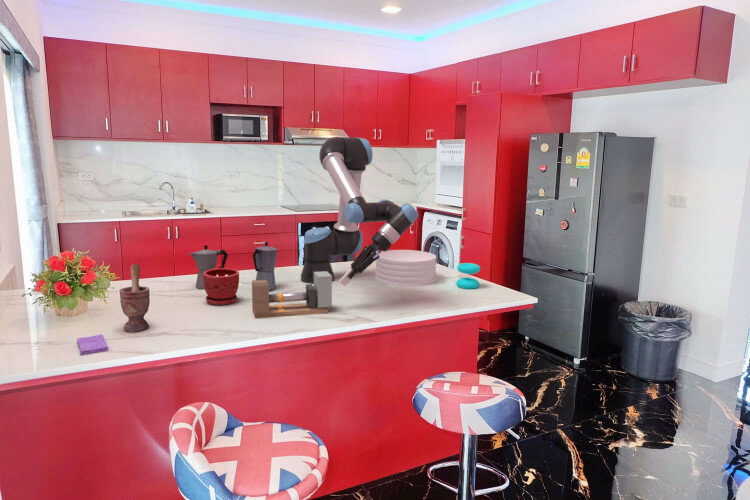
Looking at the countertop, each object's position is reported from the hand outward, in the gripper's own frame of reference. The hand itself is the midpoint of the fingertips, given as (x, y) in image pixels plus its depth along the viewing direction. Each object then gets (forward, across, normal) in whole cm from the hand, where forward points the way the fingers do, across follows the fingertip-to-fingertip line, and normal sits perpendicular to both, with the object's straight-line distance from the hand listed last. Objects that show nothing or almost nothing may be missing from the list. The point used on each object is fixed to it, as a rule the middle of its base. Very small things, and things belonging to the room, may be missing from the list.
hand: (341, 283), depth 193 cm
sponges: (+64, -19, +50) cm, 83 cm away
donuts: (-37, +18, -51) cm, 66 cm away
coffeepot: (+40, +44, +26) cm, 65 cm away
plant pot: (+37, +19, +23) cm, 47 cm away
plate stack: (-22, +38, -36) cm, 57 cm away
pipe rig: (+20, 0, +7) cm, 21 cm away
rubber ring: (+14, 0, +3) cm, 14 cm away
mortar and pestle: (+57, -4, +43) cm, 71 cm away
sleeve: (+10, 0, 0) cm, 10 cm away
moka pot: (+24, +34, +10) cm, 43 cm away
